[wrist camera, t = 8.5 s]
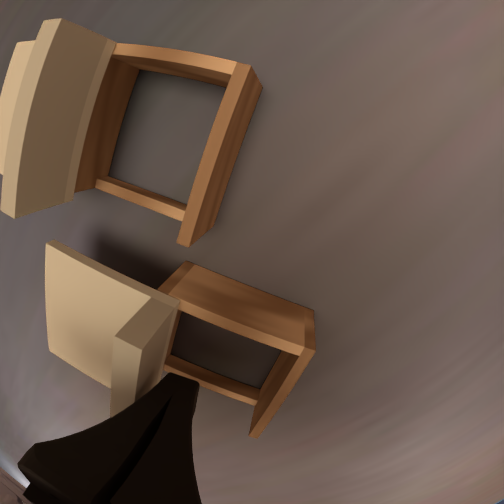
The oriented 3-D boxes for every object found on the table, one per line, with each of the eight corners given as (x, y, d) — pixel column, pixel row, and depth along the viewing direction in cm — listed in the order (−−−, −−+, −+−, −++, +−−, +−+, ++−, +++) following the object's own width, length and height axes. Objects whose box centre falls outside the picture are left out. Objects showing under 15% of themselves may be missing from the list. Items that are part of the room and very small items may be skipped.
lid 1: (116, 42, 9) (61, 18, 5) (72, 200, 11) (14, 218, 8) (25, 44, 9) (-22, 35, 6) (-5, 166, 11) (-52, 176, 8)
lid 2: (180, 300, 12) (142, 349, 8) (155, 401, 14) (129, 447, 11) (54, 239, 12) (2, 264, 9) (55, 344, 14) (20, 377, 11)
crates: (438, -42, 7) (458, -70, 4) (264, 397, 17) (257, 438, 14) (197, -98, 8) (181, -126, 4) (62, 302, 17) (31, 326, 14)
